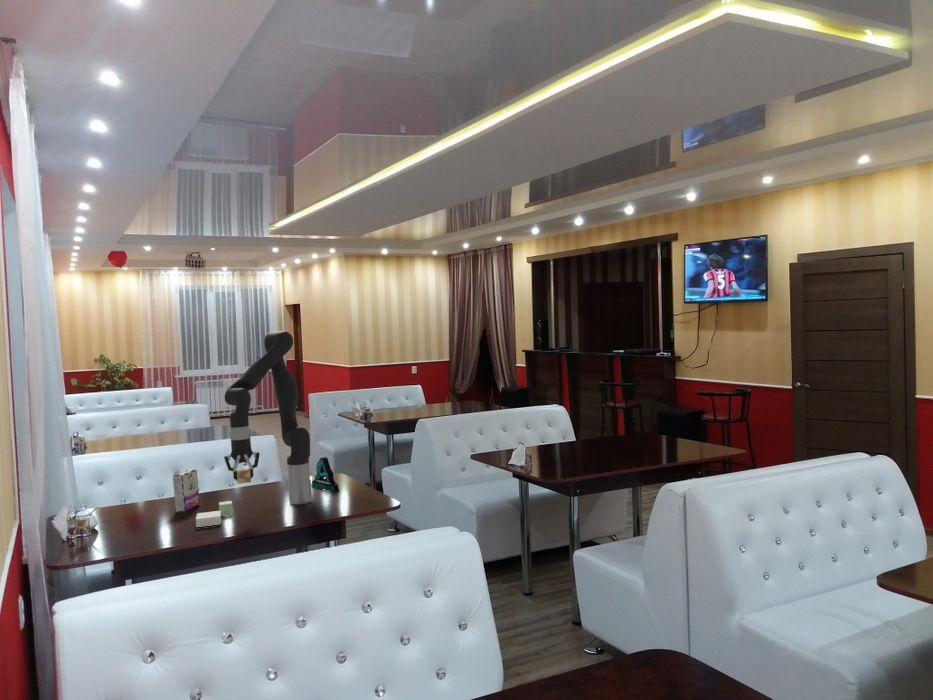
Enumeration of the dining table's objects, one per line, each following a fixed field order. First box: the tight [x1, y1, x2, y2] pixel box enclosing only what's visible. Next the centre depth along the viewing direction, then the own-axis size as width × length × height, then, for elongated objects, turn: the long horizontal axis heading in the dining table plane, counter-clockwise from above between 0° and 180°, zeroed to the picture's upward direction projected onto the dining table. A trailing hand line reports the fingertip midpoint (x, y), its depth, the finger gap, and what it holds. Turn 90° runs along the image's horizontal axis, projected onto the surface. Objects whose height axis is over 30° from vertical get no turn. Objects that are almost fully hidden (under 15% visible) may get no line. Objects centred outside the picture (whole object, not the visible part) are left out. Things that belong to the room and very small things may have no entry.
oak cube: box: [236, 466, 252, 485], centre depth 284 cm, size 5×5×5 cm
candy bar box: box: [172, 468, 201, 513], centre depth 306 cm, size 11×5×16 cm, turn 168°
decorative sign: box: [311, 456, 340, 493], centre depth 330 cm, size 19×2×15 cm, turn 46°
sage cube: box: [218, 500, 234, 517], centre depth 294 cm, size 5×5×5 cm
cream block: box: [195, 510, 222, 528], centre depth 281 cm, size 9×9×4 cm
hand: (243, 479), depth 284 cm, fingers closed on oak cube, 5 cm apart
